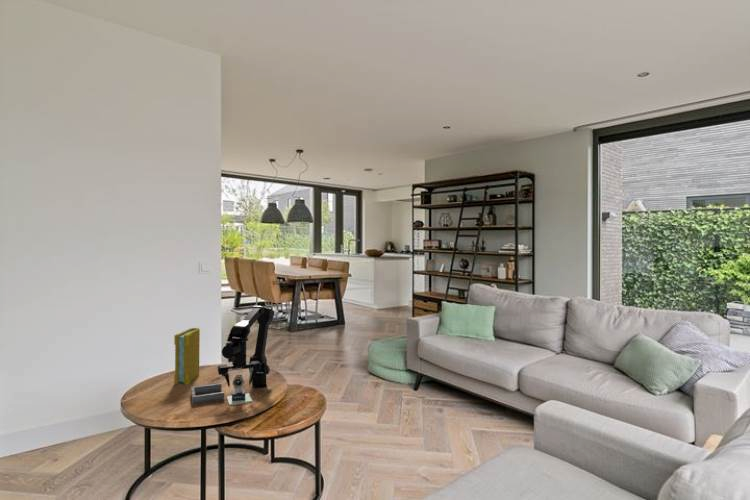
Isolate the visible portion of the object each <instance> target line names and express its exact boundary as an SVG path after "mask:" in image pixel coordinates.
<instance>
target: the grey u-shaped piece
mask: <svg viewBox="0 0 750 500" xmlns="http://www.w3.org/2000/svg"><path fill="white" fill-rule="evenodd" d="M190 388H191V389H190V393H191V394H190V395H191V405H192V406H196V405H200V404H208V403H214V402H221V400H222V401H225V391H222V383H221V382H220V383H214V384H213V383H212V384H205V385H198V386H191V387H190Z"/></svg>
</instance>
